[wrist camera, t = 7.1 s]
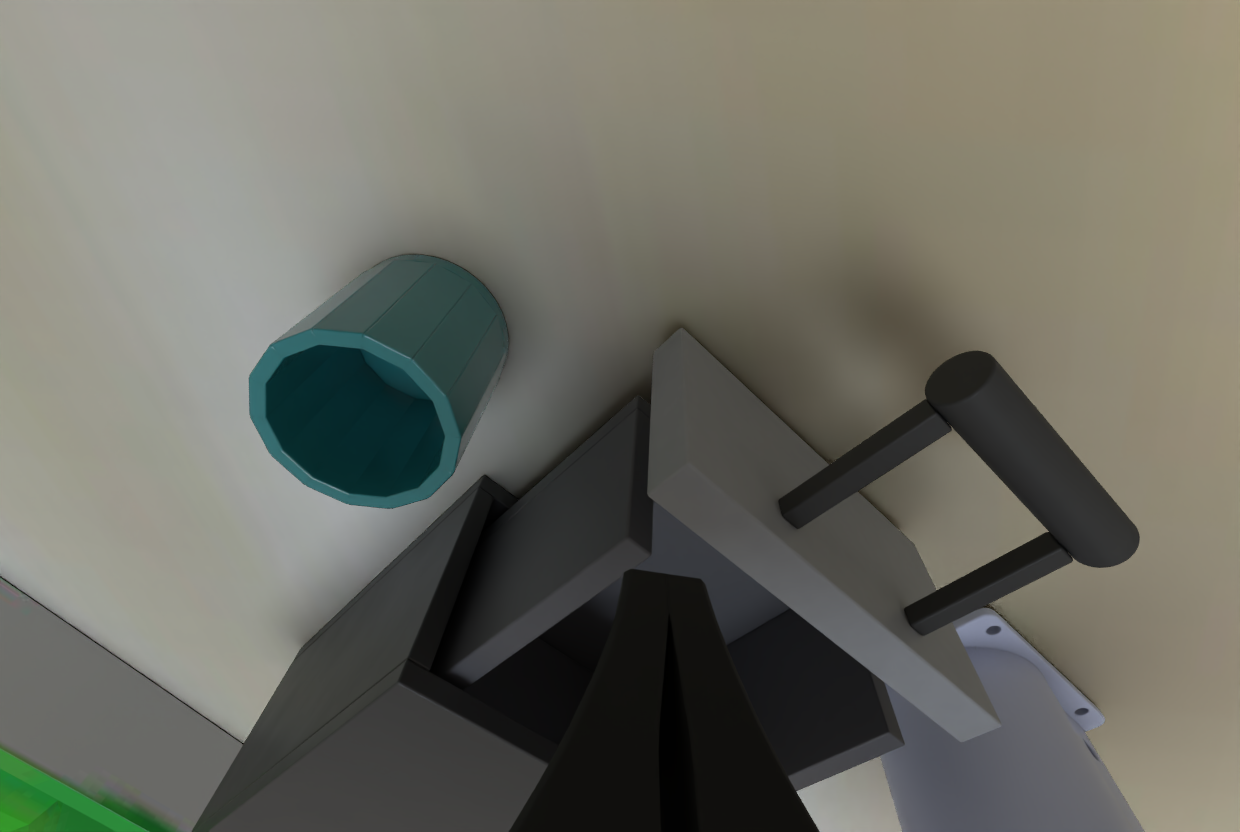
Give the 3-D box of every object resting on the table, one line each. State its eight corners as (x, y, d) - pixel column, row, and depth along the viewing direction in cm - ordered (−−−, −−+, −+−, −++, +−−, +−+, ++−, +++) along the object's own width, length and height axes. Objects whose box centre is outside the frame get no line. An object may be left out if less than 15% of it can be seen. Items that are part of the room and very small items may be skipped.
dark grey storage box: (484, 474, 22) (397, 682, 15) (725, 647, 26) (746, 875, 19) (300, 648, 28) (176, 855, 21) (519, 767, 32) (477, 973, 25)
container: (542, 330, 19) (501, 426, 14) (449, 427, 21) (388, 538, 16) (406, 216, 17) (311, 282, 13) (321, 334, 20) (213, 427, 15)
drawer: (833, 187, 15) (930, 274, 10) (1064, 457, 19) (1231, 634, 14) (427, 557, 23) (349, 725, 18) (646, 698, 27) (641, 874, 21)
